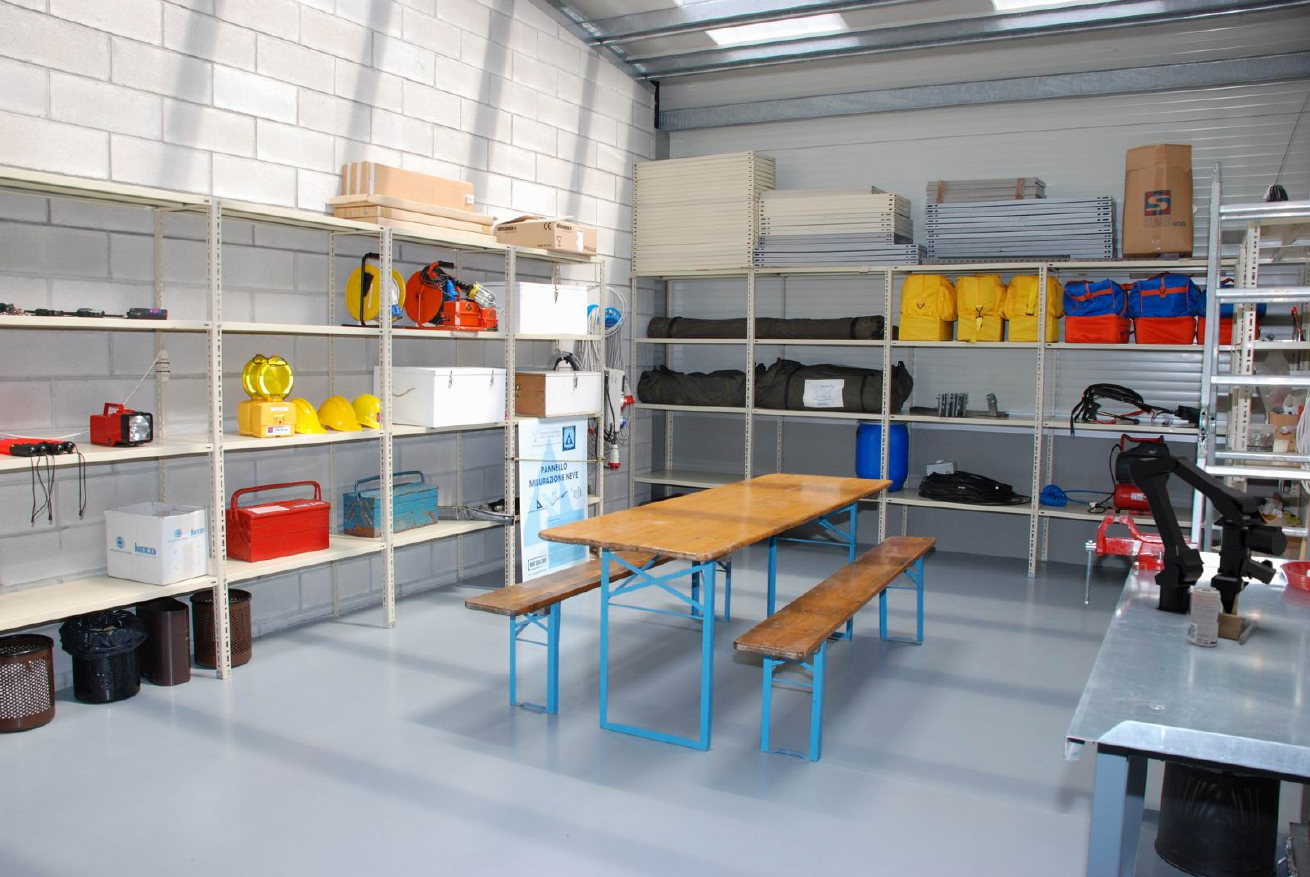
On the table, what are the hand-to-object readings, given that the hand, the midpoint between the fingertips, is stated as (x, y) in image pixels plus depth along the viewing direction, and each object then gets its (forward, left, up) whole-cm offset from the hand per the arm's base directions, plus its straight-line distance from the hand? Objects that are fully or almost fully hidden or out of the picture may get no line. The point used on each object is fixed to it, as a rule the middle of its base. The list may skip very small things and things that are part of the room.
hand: (1229, 612), depth 230 cm
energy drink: (-1, -21, -3) cm, 21 cm away
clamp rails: (0, -7, -3) cm, 7 cm away
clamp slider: (0, -6, -3) cm, 6 cm away
